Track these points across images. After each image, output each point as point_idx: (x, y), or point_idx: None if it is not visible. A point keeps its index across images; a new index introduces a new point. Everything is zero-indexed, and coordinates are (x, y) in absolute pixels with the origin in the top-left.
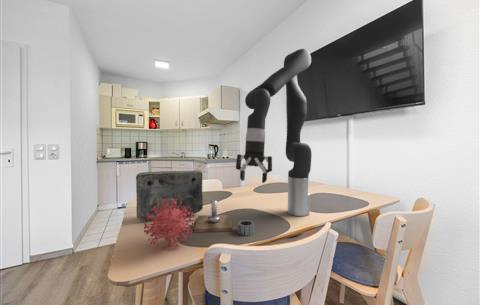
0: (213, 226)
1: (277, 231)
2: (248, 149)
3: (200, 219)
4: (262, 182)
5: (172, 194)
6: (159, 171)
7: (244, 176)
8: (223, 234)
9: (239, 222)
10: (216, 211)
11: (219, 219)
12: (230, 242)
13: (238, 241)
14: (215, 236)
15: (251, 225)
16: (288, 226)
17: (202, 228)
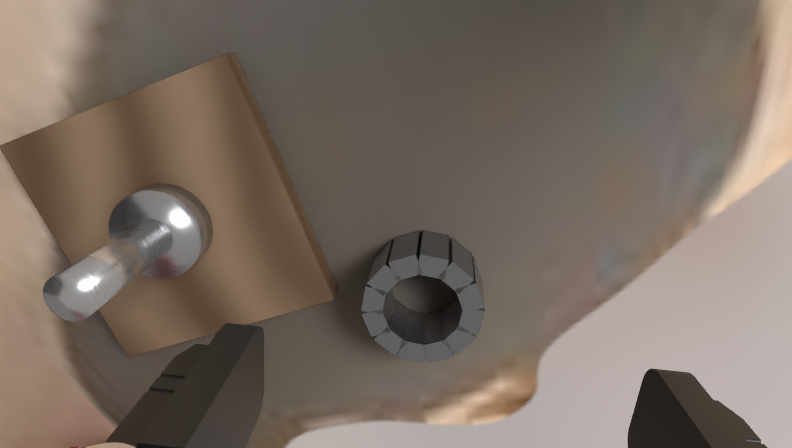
0: (213, 306)
1: (638, 230)
2: None
3: (66, 216)
4: (633, 443)
5: None
6: None
7: (237, 370)
8: (305, 339)
9: (373, 309)
10: (149, 257)
11: (205, 236)
12: (373, 409)
13: (410, 394)
14: (274, 368)
15: (466, 339)
16: (742, 119)
17: (168, 344)
